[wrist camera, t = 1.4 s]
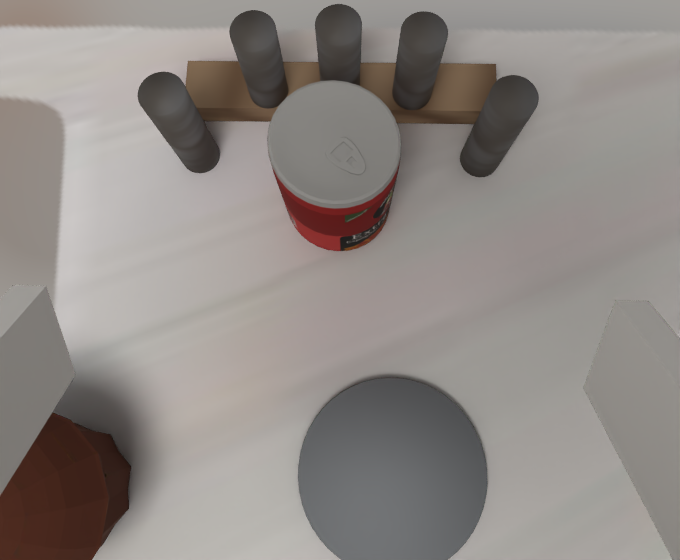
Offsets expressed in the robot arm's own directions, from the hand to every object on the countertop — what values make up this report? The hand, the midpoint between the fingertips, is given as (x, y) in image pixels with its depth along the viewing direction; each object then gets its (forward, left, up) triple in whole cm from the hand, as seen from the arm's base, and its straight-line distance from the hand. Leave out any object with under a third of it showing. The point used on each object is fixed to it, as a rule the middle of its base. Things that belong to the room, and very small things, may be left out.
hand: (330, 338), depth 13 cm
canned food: (-9, -9, -27) cm, 29 cm away
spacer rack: (-14, -13, -26) cm, 33 cm away
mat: (+3, +7, -26) cm, 27 cm away
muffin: (+19, -9, -27) cm, 34 cm away
